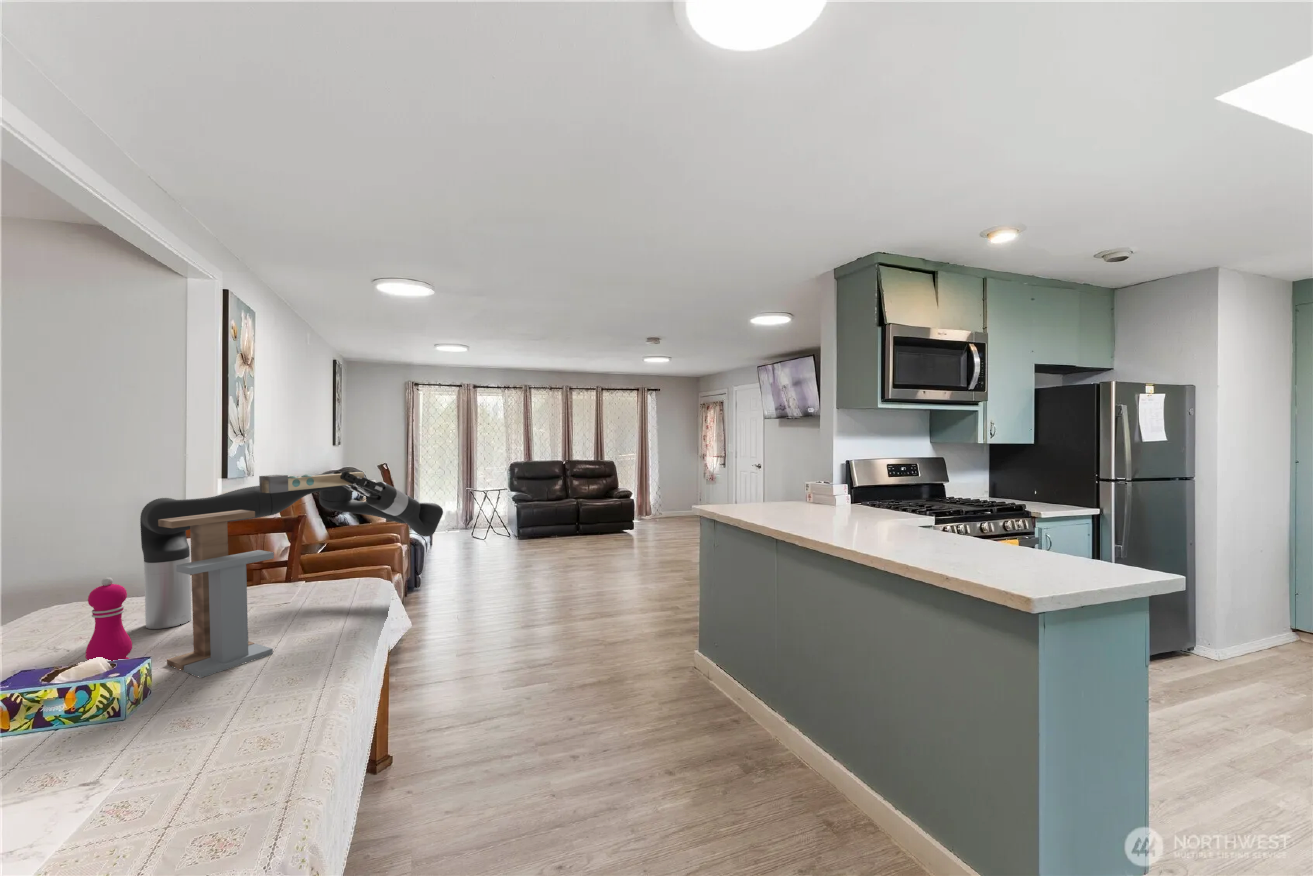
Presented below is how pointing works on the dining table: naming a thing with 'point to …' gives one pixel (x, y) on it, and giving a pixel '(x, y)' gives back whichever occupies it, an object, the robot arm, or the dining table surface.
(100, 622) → the pepper mill
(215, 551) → the tall stand
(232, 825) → the dining table surface
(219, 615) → the low stand
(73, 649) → the dining table surface
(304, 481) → the teal-dotted wooden beam
